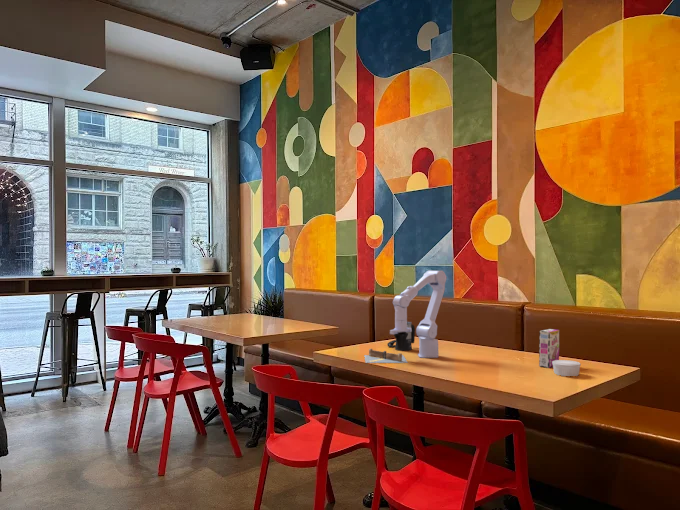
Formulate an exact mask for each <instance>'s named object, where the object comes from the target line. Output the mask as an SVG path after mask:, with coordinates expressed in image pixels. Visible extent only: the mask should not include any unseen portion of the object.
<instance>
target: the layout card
mask: <svg viewBox="0 0 680 510" xmlns="http://www.w3.org/2000/svg"><path fill="white" fill-rule="evenodd" d="M363 356H364V357H365V358H364V361H365V364H408V361H407V359H406V357H405V356H404V355H403V354H402V361H398V360H392V359H384V358H381V357H375V356H369V354H368V355H367V354H365V355H363Z"/></svg>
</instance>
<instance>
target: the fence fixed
mask: <svg viewBox="0 0 680 510" xmlns="http://www.w3.org/2000/svg"><path fill="white" fill-rule="evenodd" d="M386 353H387V350H383V351H380V350H374V349H373V348H369V349H368V355H369V356H375V357H381V358H384V359H386Z"/></svg>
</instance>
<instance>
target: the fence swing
mask: <svg viewBox="0 0 680 510" xmlns="http://www.w3.org/2000/svg"><path fill="white" fill-rule="evenodd" d="M402 355H403V354H402V353H391V352H386V359H392V360H398V361H402Z"/></svg>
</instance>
